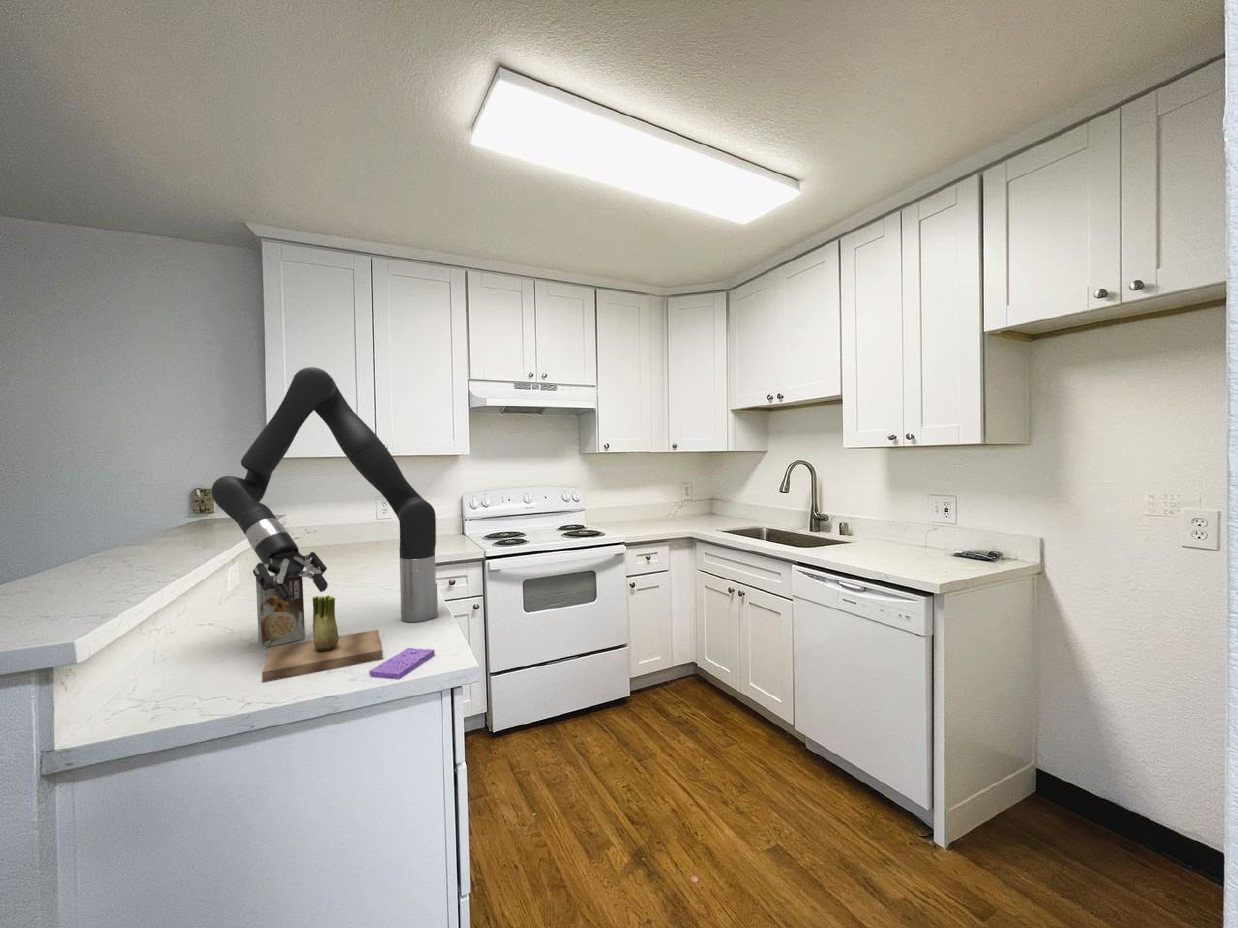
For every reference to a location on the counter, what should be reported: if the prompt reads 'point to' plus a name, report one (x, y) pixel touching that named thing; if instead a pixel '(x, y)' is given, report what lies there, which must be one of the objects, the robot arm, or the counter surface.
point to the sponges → (402, 663)
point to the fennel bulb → (324, 623)
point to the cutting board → (321, 655)
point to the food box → (280, 614)
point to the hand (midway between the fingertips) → (307, 594)
